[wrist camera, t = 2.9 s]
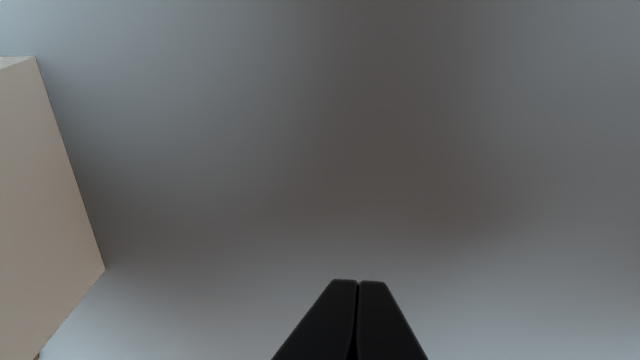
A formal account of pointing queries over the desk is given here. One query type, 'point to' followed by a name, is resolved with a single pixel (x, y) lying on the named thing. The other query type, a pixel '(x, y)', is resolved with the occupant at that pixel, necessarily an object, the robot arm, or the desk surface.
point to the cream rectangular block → (37, 217)
